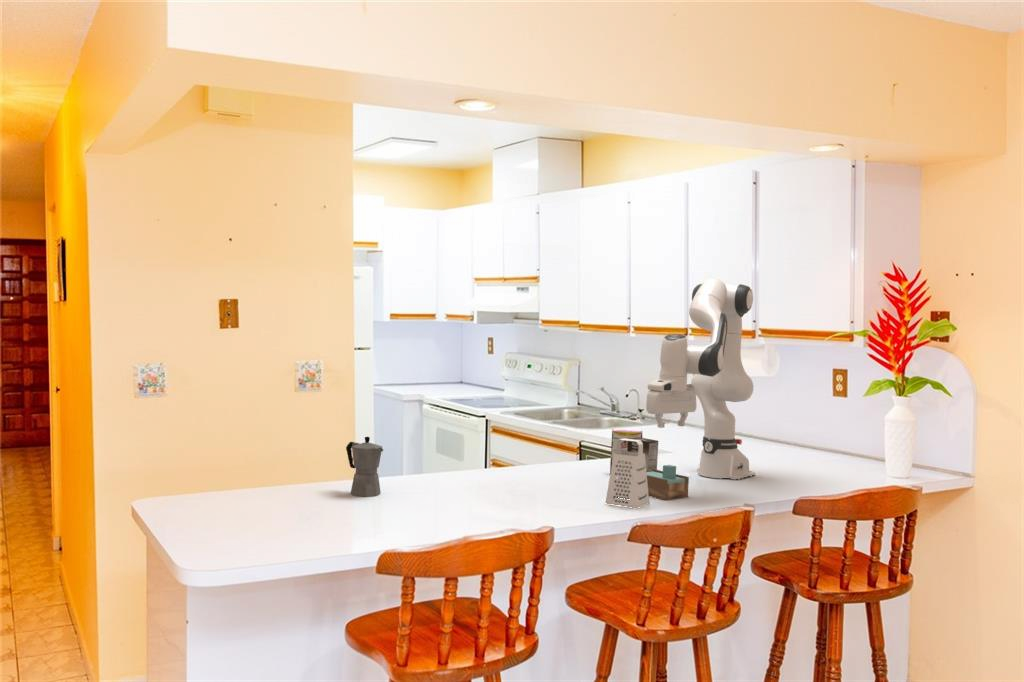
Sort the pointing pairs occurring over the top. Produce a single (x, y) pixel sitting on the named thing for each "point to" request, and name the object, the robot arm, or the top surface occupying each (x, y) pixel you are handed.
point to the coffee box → (646, 451)
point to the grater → (628, 477)
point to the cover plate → (669, 481)
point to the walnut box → (666, 487)
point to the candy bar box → (621, 434)
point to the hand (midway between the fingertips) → (671, 426)
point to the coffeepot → (365, 468)
